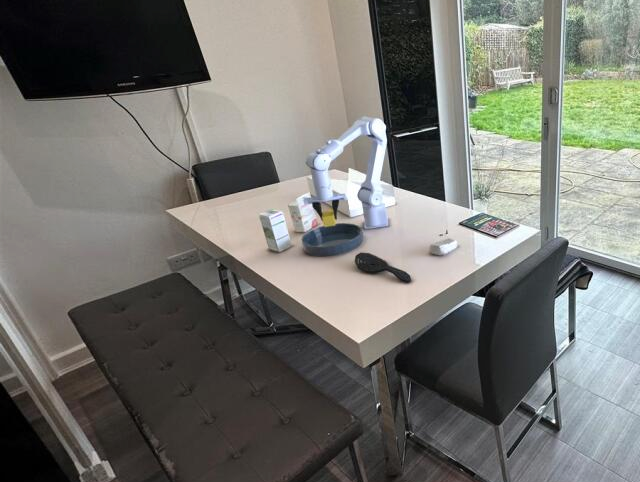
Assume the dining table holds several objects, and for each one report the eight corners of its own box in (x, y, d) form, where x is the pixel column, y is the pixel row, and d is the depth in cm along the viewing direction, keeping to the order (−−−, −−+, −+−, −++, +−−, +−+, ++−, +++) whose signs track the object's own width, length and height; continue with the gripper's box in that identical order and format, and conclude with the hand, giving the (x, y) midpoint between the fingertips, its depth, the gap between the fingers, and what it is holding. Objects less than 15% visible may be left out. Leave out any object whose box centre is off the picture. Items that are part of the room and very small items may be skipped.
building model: (310, 194, 208) (306, 176, 204) (351, 184, 223) (348, 167, 219) (351, 217, 179) (347, 197, 175) (395, 204, 194) (392, 185, 190)
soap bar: (451, 253, 154) (451, 238, 154) (461, 254, 150) (461, 238, 150) (428, 254, 147) (428, 238, 147) (439, 255, 143) (439, 239, 143)
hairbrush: (399, 280, 125) (348, 255, 137) (400, 290, 127) (349, 265, 139) (419, 268, 131) (368, 246, 144) (419, 278, 133) (369, 255, 145)
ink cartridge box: (307, 223, 173) (300, 190, 168) (318, 224, 173) (310, 191, 167) (294, 231, 166) (285, 197, 160) (304, 232, 165) (296, 198, 159)
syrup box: (292, 246, 154) (283, 210, 148) (278, 252, 149) (268, 216, 143) (282, 243, 156) (272, 208, 150) (268, 250, 151) (257, 214, 145)
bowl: (363, 229, 168) (362, 220, 166) (363, 251, 149) (361, 241, 147) (307, 236, 161) (305, 227, 160) (300, 261, 143) (297, 250, 141)
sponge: (335, 218, 160) (334, 209, 158) (335, 225, 154) (333, 215, 152) (324, 220, 158) (322, 210, 157) (323, 227, 152) (321, 217, 151)
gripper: (343, 180, 156) (349, 213, 161) (302, 184, 151) (309, 218, 157) (343, 185, 150) (349, 219, 155) (300, 190, 145) (308, 225, 151)
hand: (329, 219), depth 156 cm, fingers closed on sponge, 4 cm apart
